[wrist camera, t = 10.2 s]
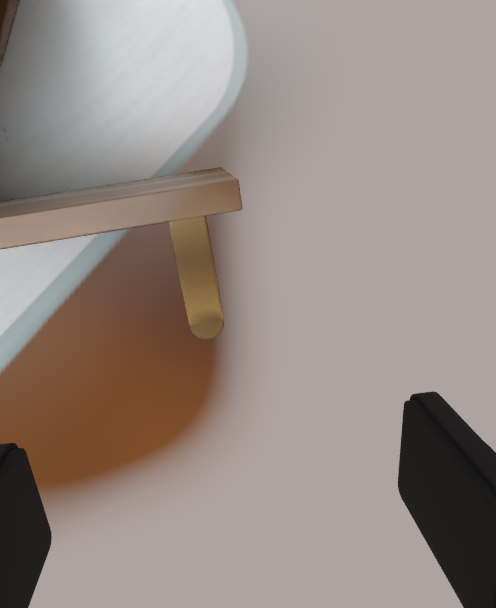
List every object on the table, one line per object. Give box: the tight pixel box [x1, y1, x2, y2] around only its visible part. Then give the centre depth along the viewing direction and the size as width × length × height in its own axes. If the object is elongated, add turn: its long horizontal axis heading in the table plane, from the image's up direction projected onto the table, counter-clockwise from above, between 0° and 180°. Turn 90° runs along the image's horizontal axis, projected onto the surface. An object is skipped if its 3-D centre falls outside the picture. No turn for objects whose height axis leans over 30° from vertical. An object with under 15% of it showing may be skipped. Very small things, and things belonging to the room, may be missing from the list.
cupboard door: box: [0, 168, 242, 339], centre depth 20 cm, size 6×14×10 cm, turn 98°
